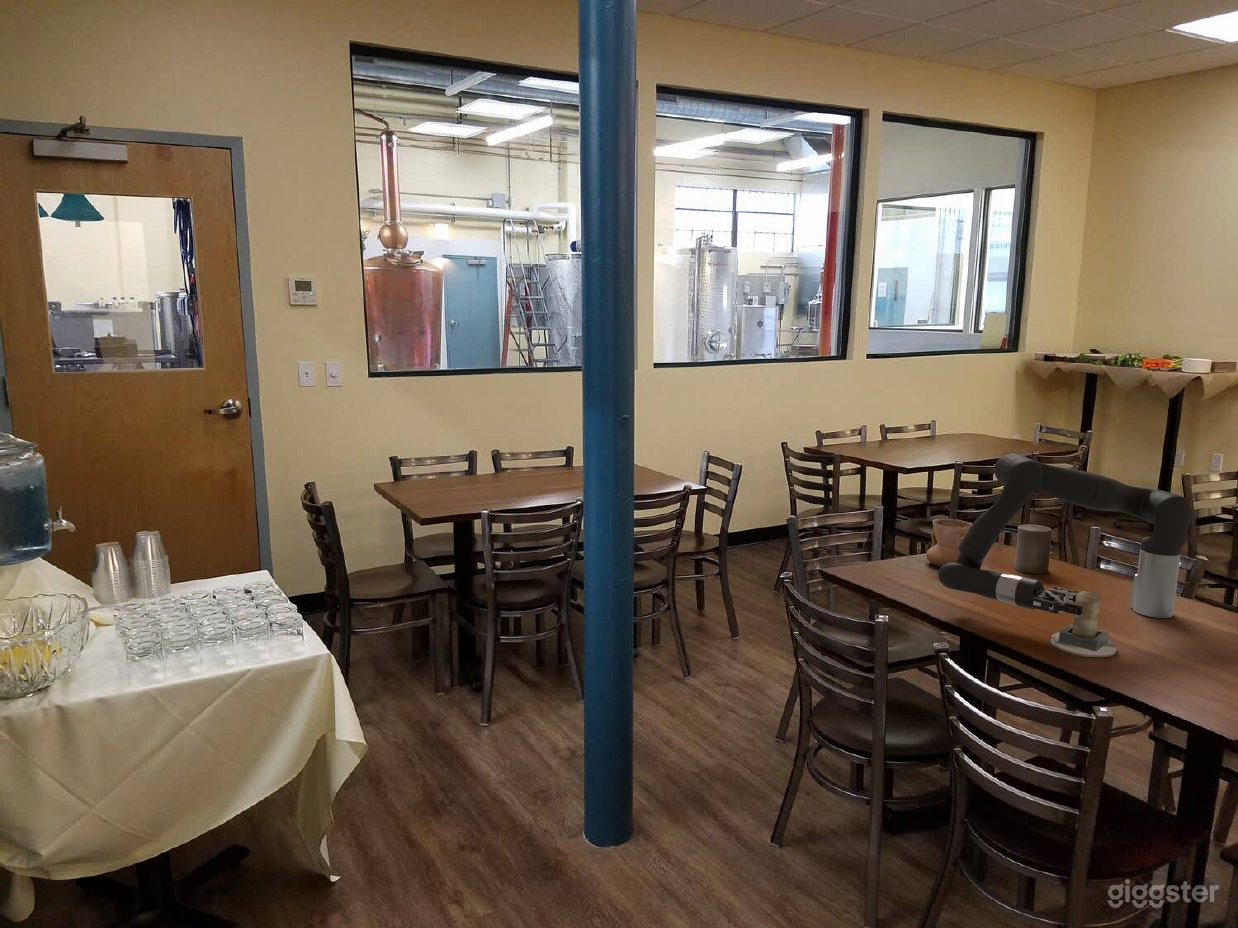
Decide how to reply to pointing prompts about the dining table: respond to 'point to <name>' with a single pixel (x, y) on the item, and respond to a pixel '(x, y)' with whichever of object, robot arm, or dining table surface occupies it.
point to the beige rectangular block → (1086, 614)
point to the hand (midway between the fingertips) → (1088, 607)
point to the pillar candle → (1033, 549)
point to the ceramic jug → (946, 540)
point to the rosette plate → (1083, 643)
